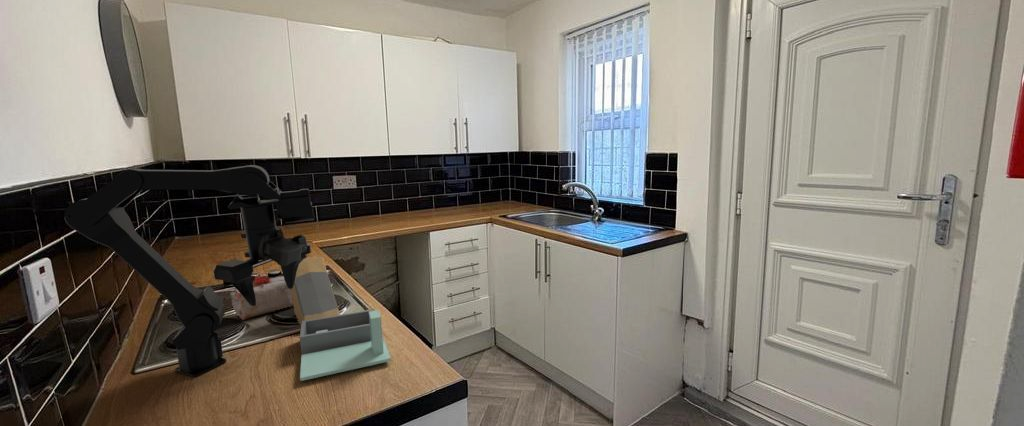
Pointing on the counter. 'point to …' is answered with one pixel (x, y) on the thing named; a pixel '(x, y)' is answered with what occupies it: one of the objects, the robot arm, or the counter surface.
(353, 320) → the box
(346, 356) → the lid
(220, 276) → the robot arm
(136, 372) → the counter surface
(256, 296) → the food item
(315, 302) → the sandwich container
